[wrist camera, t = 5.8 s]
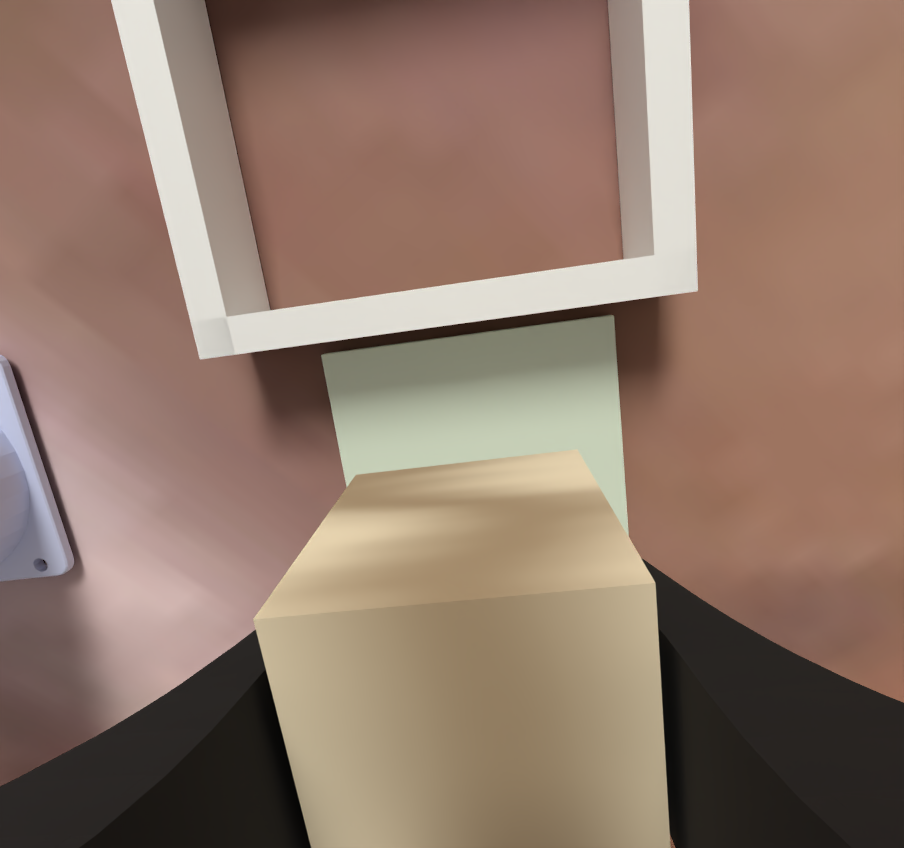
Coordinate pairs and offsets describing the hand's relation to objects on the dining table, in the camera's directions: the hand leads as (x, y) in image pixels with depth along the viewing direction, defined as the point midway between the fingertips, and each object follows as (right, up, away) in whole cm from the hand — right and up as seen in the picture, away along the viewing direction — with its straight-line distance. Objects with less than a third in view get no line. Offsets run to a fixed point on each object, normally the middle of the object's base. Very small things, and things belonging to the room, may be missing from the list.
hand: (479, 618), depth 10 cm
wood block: (0, +1, +2) cm, 2 cm away
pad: (+1, +2, +8) cm, 8 cm away
